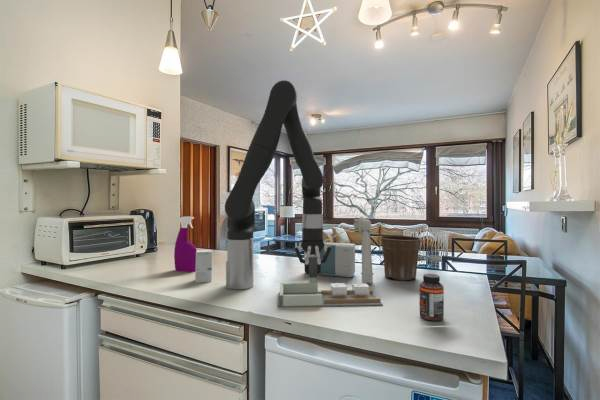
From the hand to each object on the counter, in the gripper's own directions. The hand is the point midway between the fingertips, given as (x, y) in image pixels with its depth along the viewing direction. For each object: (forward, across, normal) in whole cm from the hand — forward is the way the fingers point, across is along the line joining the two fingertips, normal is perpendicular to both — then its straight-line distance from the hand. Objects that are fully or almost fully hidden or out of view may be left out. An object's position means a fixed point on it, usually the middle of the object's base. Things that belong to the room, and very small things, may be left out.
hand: (312, 274), depth 113 cm
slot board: (+5, +4, -14) cm, 15 cm away
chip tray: (+5, -5, -14) cm, 16 cm away
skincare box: (+5, -41, +9) cm, 42 cm away
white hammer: (+5, +20, +5) cm, 21 cm away
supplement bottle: (+5, +29, -31) cm, 43 cm away
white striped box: (+5, +9, +19) cm, 22 cm away
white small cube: (+4, +14, -14) cm, 20 cm away
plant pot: (+5, +37, +13) cm, 40 cm away
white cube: (+4, +7, -14) cm, 16 cm away
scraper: (+5, 0, 0) cm, 5 cm away
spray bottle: (+5, -53, +26) cm, 59 cm away
